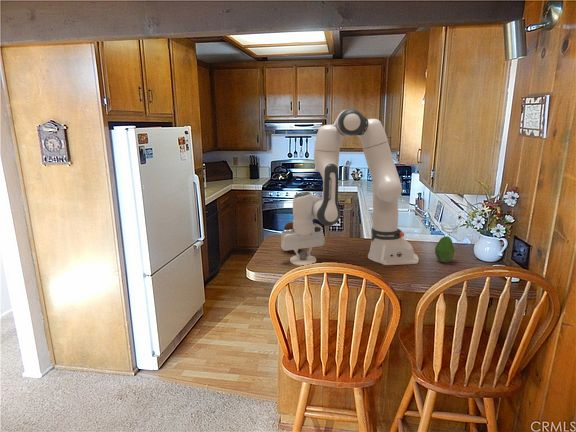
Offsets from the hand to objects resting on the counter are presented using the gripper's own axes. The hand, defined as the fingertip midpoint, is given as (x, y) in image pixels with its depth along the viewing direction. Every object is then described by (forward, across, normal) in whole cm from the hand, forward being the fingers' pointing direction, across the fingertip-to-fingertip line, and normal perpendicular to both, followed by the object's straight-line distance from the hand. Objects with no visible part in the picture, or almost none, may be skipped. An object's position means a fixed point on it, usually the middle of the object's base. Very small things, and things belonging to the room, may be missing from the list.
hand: (303, 256), depth 170 cm
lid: (+2, 0, 0) cm, 2 cm away
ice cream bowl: (+2, 0, +14) cm, 14 cm away
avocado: (+2, +58, -24) cm, 63 cm away
